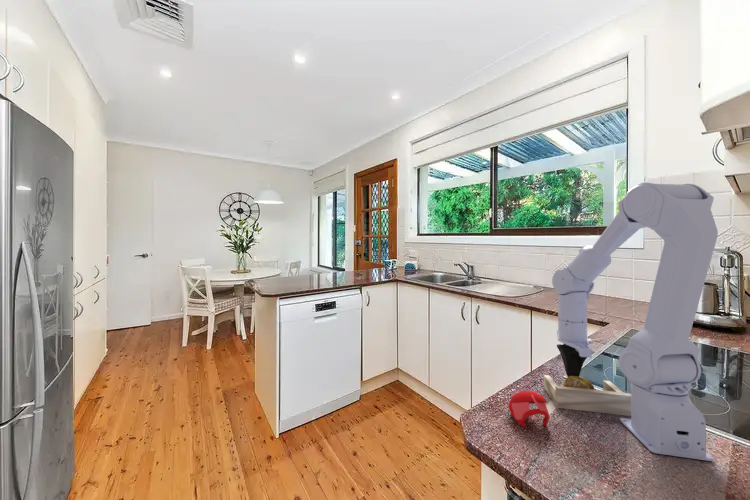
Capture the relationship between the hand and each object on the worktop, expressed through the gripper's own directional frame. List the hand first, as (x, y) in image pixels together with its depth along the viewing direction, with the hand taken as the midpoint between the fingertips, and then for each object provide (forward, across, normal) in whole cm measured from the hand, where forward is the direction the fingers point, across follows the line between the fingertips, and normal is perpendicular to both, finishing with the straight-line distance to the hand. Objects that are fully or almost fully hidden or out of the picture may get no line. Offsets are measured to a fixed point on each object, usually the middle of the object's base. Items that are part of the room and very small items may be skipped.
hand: (572, 377), depth 69 cm
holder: (+2, -6, 0) cm, 7 cm away
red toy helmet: (+3, -18, +14) cm, 23 cm away
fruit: (+3, -4, +2) cm, 5 cm away
